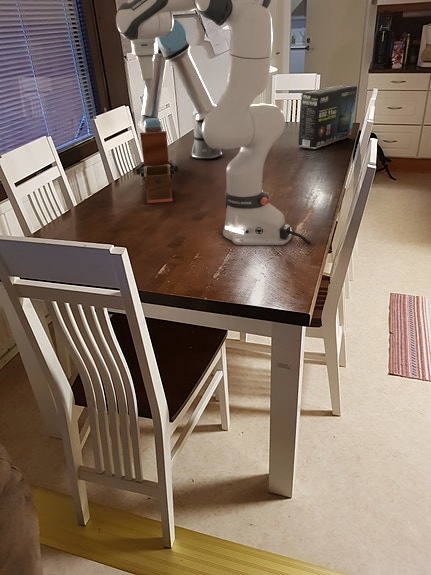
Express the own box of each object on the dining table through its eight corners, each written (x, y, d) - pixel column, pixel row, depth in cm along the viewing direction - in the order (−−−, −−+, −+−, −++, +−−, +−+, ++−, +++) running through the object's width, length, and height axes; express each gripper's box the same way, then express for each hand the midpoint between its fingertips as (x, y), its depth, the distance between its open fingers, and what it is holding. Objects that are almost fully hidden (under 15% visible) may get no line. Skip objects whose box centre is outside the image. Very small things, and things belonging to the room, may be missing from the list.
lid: (166, 132, 172) (164, 119, 177) (140, 134, 171) (139, 121, 176) (168, 164, 183) (167, 151, 188) (144, 165, 182) (143, 152, 187)
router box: (314, 151, 231) (318, 94, 217) (296, 148, 237) (299, 92, 224) (352, 138, 251) (358, 85, 238) (335, 135, 258) (340, 83, 245)
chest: (172, 201, 177) (170, 174, 172) (147, 203, 176) (144, 176, 171) (171, 189, 189) (168, 164, 184) (147, 191, 188) (144, 166, 183)
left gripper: (182, 167, 204) (186, 182, 185) (131, 170, 202) (130, 187, 183) (181, 150, 201) (185, 164, 182) (129, 153, 198) (128, 168, 179)
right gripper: (135, 46, 165) (140, 87, 173) (134, 50, 148) (140, 96, 155) (153, 45, 166) (157, 86, 173) (154, 49, 149) (158, 95, 156)
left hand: (157, 175), depth 182 cm, fingers closed on chest, 10 cm apart
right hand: (149, 91), depth 164 cm, fingers open, 8 cm apart
